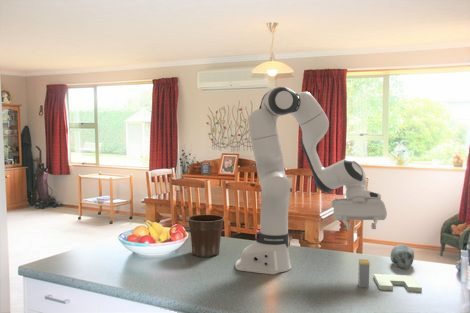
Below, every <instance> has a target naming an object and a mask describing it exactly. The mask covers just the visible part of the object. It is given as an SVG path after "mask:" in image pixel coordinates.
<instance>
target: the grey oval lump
mask: <svg viewBox="0 0 470 313" xmlns="http://www.w3.org/2000/svg"><path fill="white" fill-rule="evenodd" d="M414 258H415V252H414V250H413V248H411V247H410V246H409V245H406V244H403V243H401V244H397V245H395V246H393V248H392V250H391V252H390V261H391V262H392V263H393V265H394V266H396V267H397V268H399V269H402V270H408V269H410V268H411V267H412V265H413V264H414V263H413V262H414V260H415V259H414Z"/></svg>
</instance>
